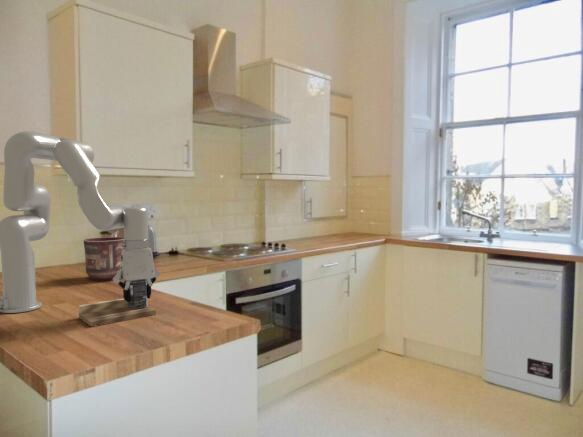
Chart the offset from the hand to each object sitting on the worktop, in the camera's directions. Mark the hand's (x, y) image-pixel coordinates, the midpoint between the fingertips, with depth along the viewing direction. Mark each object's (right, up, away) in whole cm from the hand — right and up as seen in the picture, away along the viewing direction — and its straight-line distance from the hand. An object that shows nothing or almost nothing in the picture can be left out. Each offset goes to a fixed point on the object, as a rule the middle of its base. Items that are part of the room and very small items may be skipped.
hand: (137, 298), depth 148 cm
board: (-4, -5, -5) cm, 8 cm away
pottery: (-33, -1, +55) cm, 64 cm away
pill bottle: (0, -3, 0) cm, 3 cm away
